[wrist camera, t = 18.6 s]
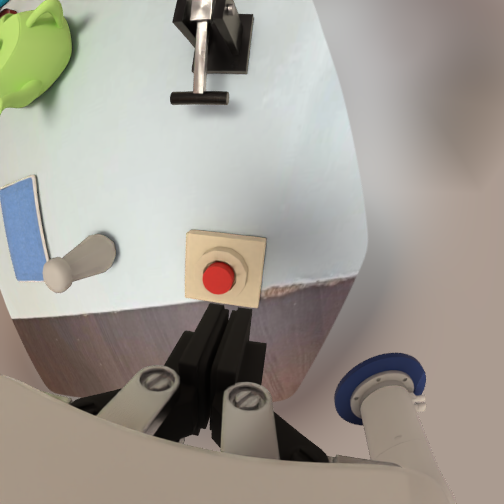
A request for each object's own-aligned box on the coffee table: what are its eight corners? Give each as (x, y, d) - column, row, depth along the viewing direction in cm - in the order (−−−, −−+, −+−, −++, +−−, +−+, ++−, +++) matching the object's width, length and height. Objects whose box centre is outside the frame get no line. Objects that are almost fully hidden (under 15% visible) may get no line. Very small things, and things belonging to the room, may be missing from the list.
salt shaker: (127, 249, 41) (74, 281, 28) (109, 274, 42) (59, 310, 30) (102, 222, 40) (44, 245, 28) (85, 248, 42) (31, 276, 29)
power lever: (229, 104, 28) (225, 105, 26) (176, 104, 29) (167, 105, 27) (236, 1, 22) (232, -5, 20) (181, 4, 22) (173, -1, 20)
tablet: (2, 187, 41) (-3, 188, 40) (37, 173, 39) (32, 173, 38) (20, 280, 46) (16, 282, 45) (57, 280, 44) (53, 282, 43)
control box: (266, 237, 38) (264, 246, 34) (259, 301, 41) (256, 314, 37) (191, 229, 39) (181, 236, 35) (189, 291, 41) (180, 303, 38)
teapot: (39, 19, 30) (-9, 1, 16) (104, 19, 31) (50, -13, 17) (3, 104, 36) (-50, 102, 22) (59, 122, 36) (-8, 119, 23)
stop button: (235, 263, 36) (233, 268, 34) (233, 290, 37) (231, 296, 35) (206, 259, 36) (202, 264, 34) (205, 286, 37) (201, 292, 35)
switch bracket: (247, 74, 32) (230, 37, 21) (194, 73, 33) (158, 42, 22) (253, 17, 30) (241, -30, 18) (202, 18, 30) (174, -24, 19)
